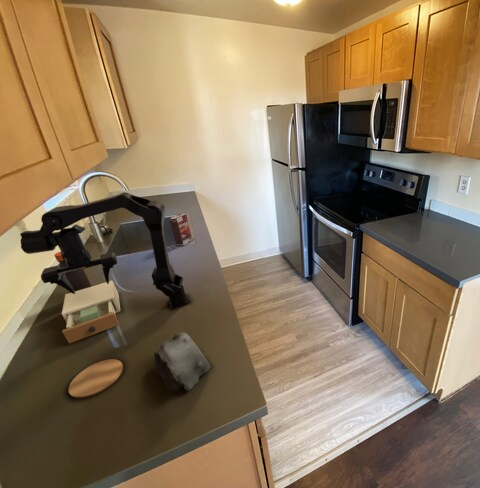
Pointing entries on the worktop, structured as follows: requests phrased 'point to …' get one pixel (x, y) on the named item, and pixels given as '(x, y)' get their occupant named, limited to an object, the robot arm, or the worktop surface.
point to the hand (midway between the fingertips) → (91, 288)
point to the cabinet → (90, 298)
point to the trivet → (95, 378)
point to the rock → (180, 362)
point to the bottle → (74, 275)
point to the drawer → (90, 322)
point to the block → (90, 314)
